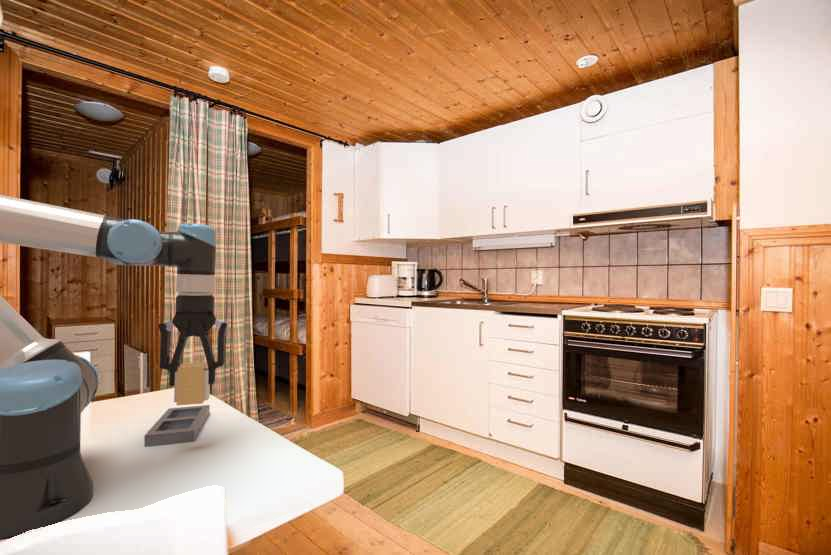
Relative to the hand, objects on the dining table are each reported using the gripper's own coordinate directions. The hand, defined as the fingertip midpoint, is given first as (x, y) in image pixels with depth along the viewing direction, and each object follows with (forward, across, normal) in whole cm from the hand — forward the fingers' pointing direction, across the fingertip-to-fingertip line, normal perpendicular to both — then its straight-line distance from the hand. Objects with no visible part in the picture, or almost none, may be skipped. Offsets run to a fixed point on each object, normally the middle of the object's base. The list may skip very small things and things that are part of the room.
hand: (192, 399), depth 88 cm
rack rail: (+11, +5, -15) cm, 20 cm away
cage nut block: (0, 0, 0) cm, 0 cm away
